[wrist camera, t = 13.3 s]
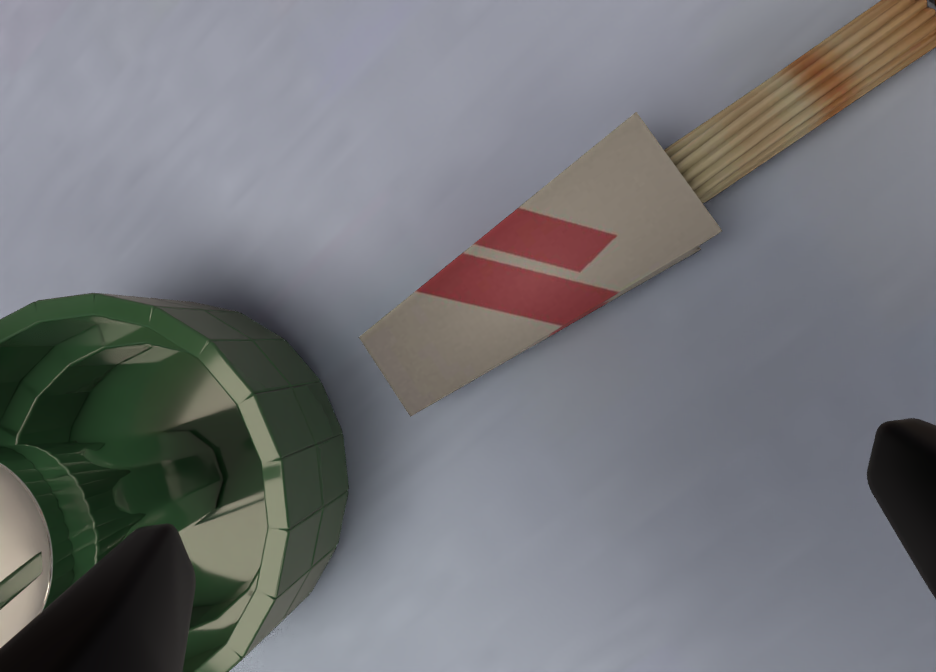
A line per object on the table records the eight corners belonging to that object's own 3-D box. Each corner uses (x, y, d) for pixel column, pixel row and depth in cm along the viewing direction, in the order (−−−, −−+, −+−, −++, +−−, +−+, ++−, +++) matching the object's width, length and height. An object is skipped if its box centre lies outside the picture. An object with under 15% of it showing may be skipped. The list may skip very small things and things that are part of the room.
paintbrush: (332, 318, 18) (992, -130, 16) (360, 323, 21) (929, -61, 19) (407, 438, 18) (1091, -7, 16) (426, 427, 20) (1012, 46, 19)
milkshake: (269, 550, 21) (-2, 736, 11) (117, 547, 22) (-257, 719, 12) (263, 407, 21) (-10, 468, 11) (113, 410, 22) (-265, 470, 12)
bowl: (317, 679, 21) (239, 782, 17) (20, 589, 23) (-130, 657, 18) (384, 341, 21) (326, 343, 16) (78, 275, 23) (-59, 259, 18)
